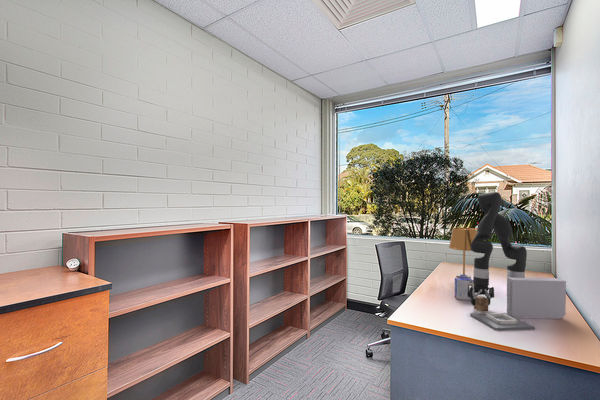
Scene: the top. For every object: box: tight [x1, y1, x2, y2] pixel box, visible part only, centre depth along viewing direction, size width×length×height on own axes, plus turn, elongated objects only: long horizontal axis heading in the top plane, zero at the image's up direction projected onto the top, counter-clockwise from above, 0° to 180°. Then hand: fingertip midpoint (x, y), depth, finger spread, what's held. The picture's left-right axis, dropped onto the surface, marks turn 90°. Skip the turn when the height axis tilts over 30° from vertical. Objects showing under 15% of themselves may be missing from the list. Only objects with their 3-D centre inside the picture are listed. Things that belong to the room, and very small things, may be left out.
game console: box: [506, 276, 567, 320], centre depth 159 cm, size 6×27×20 cm, turn 88°
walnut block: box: [473, 295, 489, 313], centre depth 167 cm, size 5×5×7 cm
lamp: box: [448, 227, 478, 279], centre depth 224 cm, size 21×21×41 cm
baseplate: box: [469, 312, 536, 331], centre depth 150 cm, size 20×18×3 cm
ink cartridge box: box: [454, 275, 474, 301], centre depth 187 cm, size 10×6×14 cm, turn 78°
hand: (480, 305), depth 167 cm, fingers open, 8 cm apart
